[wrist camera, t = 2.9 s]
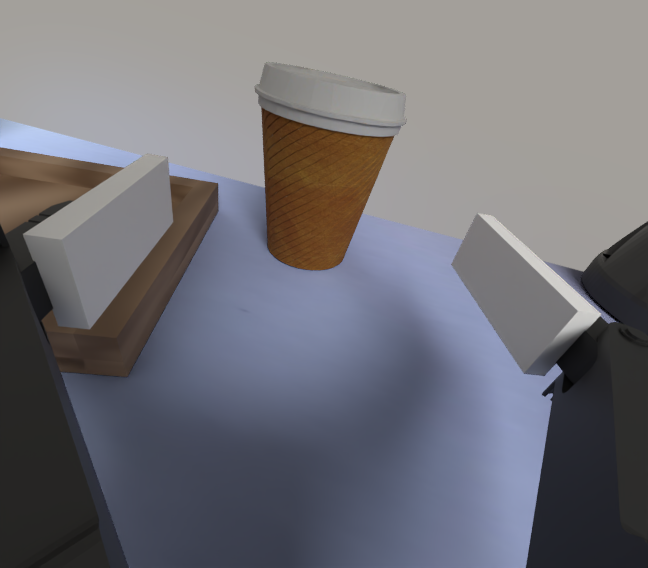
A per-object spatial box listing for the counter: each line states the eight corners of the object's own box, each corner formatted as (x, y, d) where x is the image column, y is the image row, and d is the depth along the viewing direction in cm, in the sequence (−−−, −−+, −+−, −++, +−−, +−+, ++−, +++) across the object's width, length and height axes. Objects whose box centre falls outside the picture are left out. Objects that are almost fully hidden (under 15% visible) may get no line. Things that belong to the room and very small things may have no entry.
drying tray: (218, 210, 29) (218, 183, 27) (127, 376, 14) (116, 337, 13) (-9, 175, 26) (-22, 143, 25) (-398, 335, 12) (-484, 280, 10)
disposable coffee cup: (220, 244, 24) (219, 53, 18) (295, 213, 31) (316, 68, 24) (322, 302, 21) (371, 95, 14) (381, 253, 28) (434, 98, 21)
